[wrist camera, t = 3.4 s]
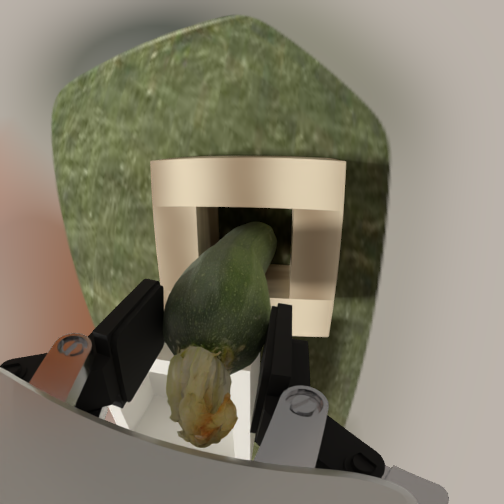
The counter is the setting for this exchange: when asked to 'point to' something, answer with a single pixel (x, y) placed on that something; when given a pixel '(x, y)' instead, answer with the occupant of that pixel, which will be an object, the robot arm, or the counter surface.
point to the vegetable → (216, 330)
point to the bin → (163, 428)
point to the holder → (260, 196)
